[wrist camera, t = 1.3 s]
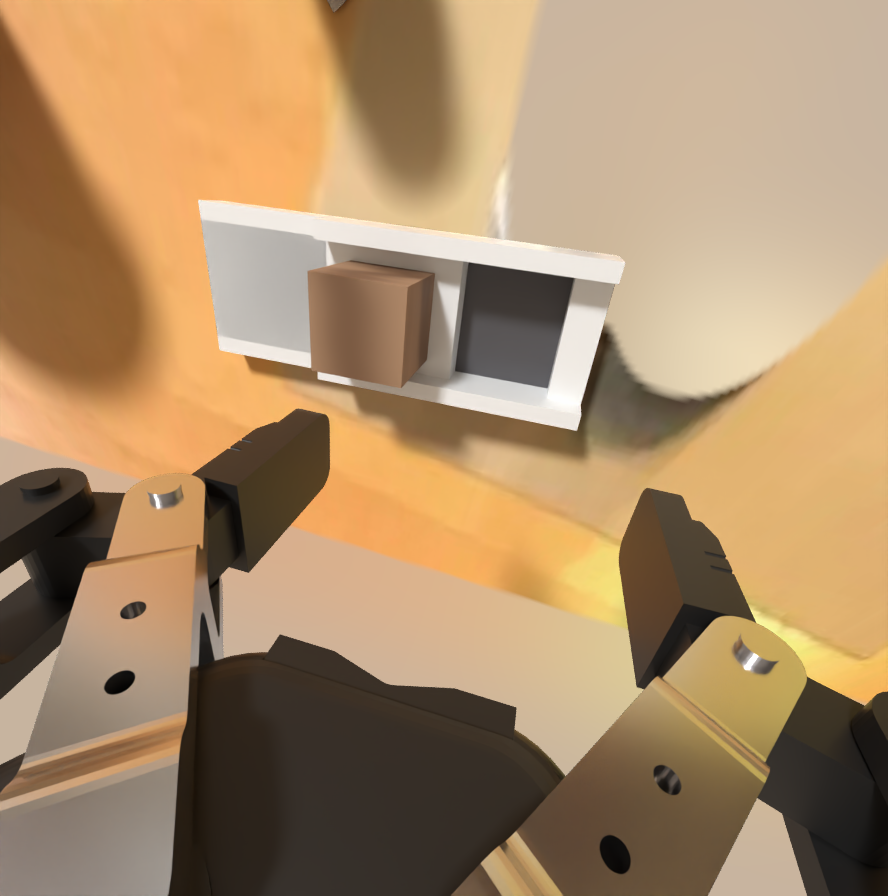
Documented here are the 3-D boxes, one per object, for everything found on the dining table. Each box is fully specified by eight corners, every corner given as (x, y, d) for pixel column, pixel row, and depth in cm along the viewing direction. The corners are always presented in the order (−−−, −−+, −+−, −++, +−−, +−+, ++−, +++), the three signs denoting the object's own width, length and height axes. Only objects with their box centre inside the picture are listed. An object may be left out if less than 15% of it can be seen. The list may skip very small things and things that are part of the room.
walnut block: (435, 273, 25) (407, 286, 20) (427, 359, 27) (401, 388, 23) (350, 260, 26) (307, 270, 21) (350, 345, 28) (311, 370, 24)
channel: (617, 255, 24) (625, 262, 21) (575, 407, 28) (576, 430, 26) (220, 200, 28) (179, 199, 25) (238, 342, 32) (204, 356, 29)
